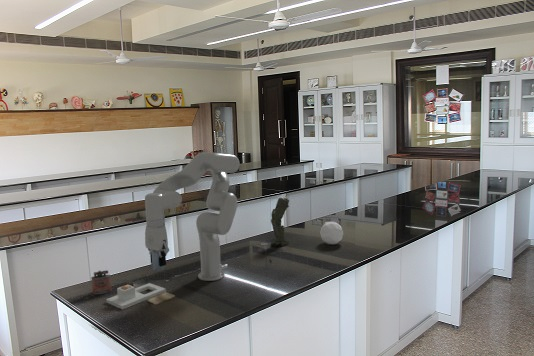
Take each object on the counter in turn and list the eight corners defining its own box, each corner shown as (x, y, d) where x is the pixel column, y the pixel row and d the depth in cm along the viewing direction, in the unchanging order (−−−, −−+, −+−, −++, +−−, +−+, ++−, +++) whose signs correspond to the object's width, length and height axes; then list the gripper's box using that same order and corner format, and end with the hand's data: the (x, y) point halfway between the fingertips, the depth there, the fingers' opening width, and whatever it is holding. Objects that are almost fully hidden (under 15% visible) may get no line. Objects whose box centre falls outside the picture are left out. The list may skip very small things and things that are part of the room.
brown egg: (127, 294, 194) (126, 284, 194) (131, 296, 192) (130, 286, 192) (121, 296, 192) (121, 286, 191) (125, 298, 190) (124, 288, 190)
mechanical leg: (272, 247, 257) (280, 198, 258) (264, 245, 263) (272, 196, 263) (289, 248, 266) (296, 200, 266) (281, 245, 271) (288, 198, 271)
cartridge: (159, 265, 195) (158, 245, 194) (167, 267, 192) (165, 247, 190) (150, 268, 191) (148, 248, 190) (157, 271, 188) (156, 250, 187)
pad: (166, 293, 199) (166, 292, 199) (175, 296, 195) (174, 295, 195) (147, 301, 192) (147, 299, 192) (156, 304, 188) (155, 303, 188)
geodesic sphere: (310, 235, 263) (323, 218, 257) (319, 229, 275) (332, 213, 269) (329, 252, 259) (343, 235, 253) (337, 245, 271) (350, 229, 265)
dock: (149, 286, 209) (148, 273, 208) (166, 291, 201) (165, 279, 200) (106, 302, 192) (105, 289, 191) (122, 309, 184) (121, 295, 183)
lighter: (92, 294, 200) (90, 273, 199) (93, 292, 204) (91, 271, 202) (111, 292, 203) (109, 271, 201) (111, 289, 206) (109, 268, 204)
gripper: (136, 221, 191) (139, 263, 194) (161, 227, 180) (163, 270, 183) (150, 218, 197) (153, 258, 199) (175, 223, 186) (178, 265, 189)
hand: (158, 263), depth 191 cm, fingers closed on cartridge, 4 cm apart
